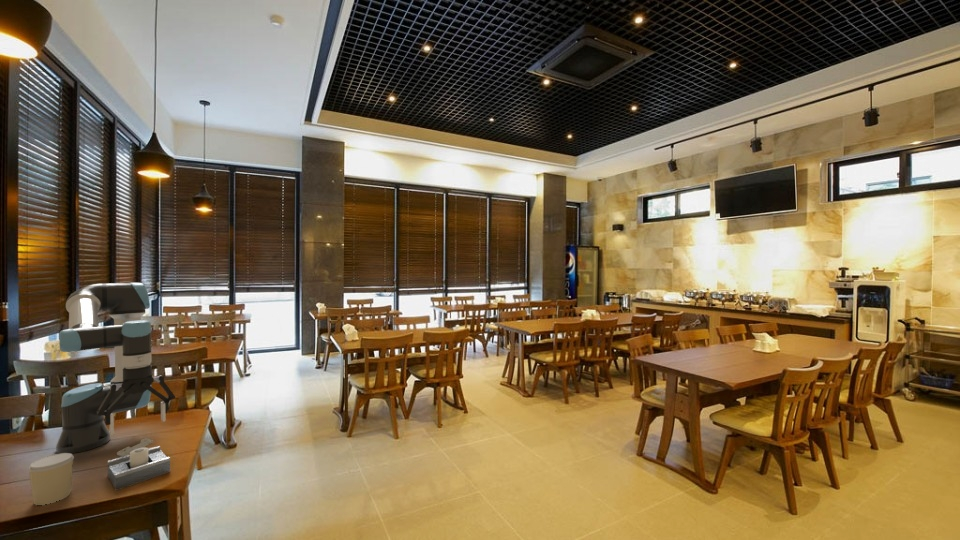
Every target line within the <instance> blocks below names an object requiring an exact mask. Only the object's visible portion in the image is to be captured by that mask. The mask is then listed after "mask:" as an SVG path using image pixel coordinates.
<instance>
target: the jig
mask: <svg viewBox="0 0 960 540" xmlns="http://www.w3.org/2000/svg"><path fill="white" fill-rule="evenodd" d="M153 447H154V448H152V447H150V448H151V449H148V463H147V464H143V465H140V466H137V467H134V468H131V469H130V454H129V455H127V456H123V457H121V456H119V457H117V458H113V459H109V460H107V477H108V478H109V480H110V482H111V484H112V486H113V488H114V490H115V491H119V490H121V489H123V488H127V487H129V486H133V485H136V484H139V483H142V482H145V481H147V480H151V479H153V478H156V477H159V476H162V475H166V474H168V473H171V457H170V456H167V455H166V454H165V453H164V452H163V451H162V449H161V446H160V445H159V446H158V445H157V446H153Z"/></svg>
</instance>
